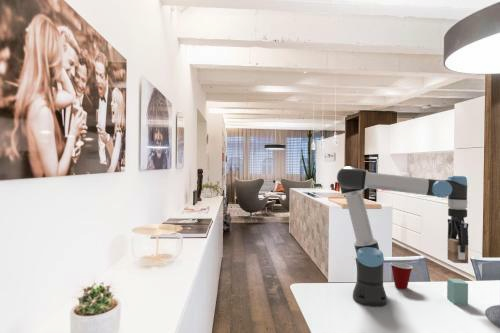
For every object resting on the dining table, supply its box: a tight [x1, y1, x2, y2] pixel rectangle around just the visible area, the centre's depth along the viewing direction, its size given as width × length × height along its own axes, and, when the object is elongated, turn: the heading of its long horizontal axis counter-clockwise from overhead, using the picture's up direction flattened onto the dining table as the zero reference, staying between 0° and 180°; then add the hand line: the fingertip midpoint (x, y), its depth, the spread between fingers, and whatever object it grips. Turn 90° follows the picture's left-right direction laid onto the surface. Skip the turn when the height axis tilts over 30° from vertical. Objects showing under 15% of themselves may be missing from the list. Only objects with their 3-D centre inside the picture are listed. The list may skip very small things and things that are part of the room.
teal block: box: [446, 277, 469, 306], centre depth 143 cm, size 6×6×10 cm
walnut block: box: [447, 237, 469, 264], centre depth 143 cm, size 6×6×10 cm
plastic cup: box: [390, 262, 414, 290], centre depth 161 cm, size 11×11×12 cm
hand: (457, 257), depth 143 cm, fingers closed on walnut block, 6 cm apart
